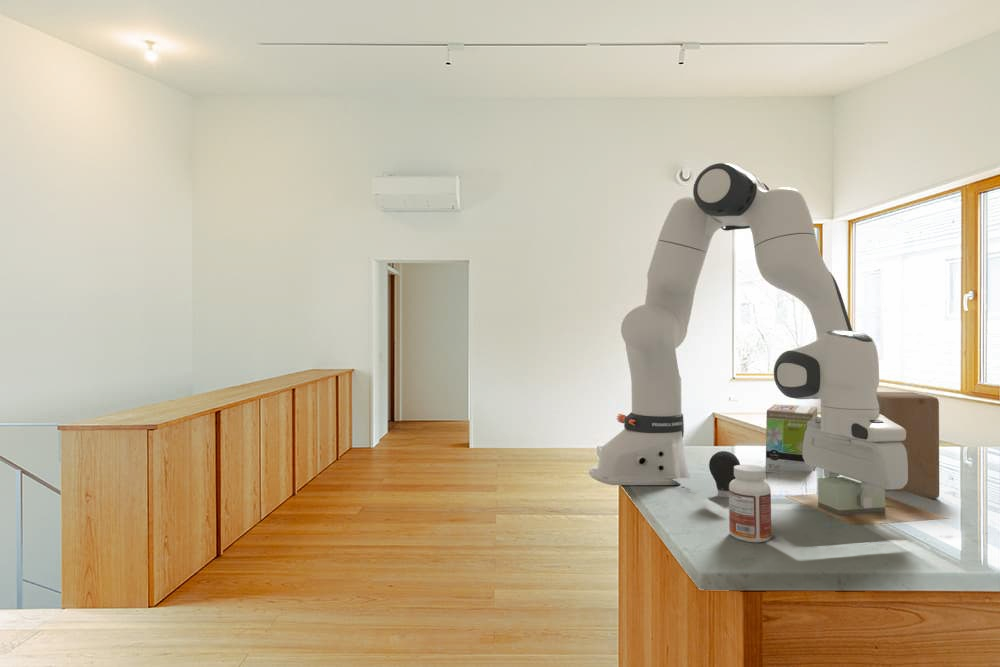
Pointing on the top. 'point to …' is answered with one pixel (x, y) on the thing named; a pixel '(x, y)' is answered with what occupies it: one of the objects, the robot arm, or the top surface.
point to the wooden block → (916, 438)
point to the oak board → (892, 514)
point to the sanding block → (846, 496)
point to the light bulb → (723, 471)
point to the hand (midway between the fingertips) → (850, 501)
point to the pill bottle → (750, 504)
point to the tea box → (787, 438)
